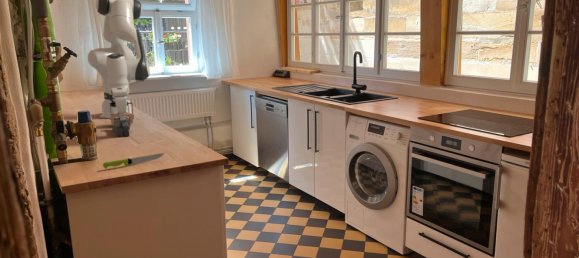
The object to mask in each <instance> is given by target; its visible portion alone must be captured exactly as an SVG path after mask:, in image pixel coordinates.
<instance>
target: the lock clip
mask: <svg viewBox="0 0 579 258" xmlns="http://www.w3.org/2000/svg"><path fill="white" fill-rule="evenodd" d="M110 116H111V118H110V125H111V126H112V125H114V119H116V118H115V117H120V115H119V114H112V115H110ZM127 116H128V117H127ZM133 116H134V115H132V113H124V118H130V124H131V125H132V124H134V119H133Z"/></svg>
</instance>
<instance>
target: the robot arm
mask: <svg viewBox="0 0 579 258" xmlns="http://www.w3.org/2000/svg"><path fill="white" fill-rule="evenodd" d="M95 8H96V10H97V11H96V12H97V13H98V14H99V15H101V16H104V23H103V32H102V36H103V38H104V40H105V41H107V42H108V43H109V44H111V45H110V47H101V48H99V47H98V48H94V49H91V50H90V51H89V52H88V54H87V62H88V64H89V65H90V66H91V67H92V68H93V69H95V70H96V71H97V72H98V73H99V75H100V77H101V79H102V84H103V90H104V91H103V92H104V93H103V98H104V100H103V102H102V103H101V110H102V113H100V115H99V118H102V119H103V118H104V119H105V118H106V119H111V116H110V115H111V114H113V113H119V115H120V117H119V118H120V120H124V118H125V117H124V113H125V112H128V113H132V106H131V104H128V105H129V111H128V106H127V102H128V103H130V102H131V101H130V100H129V99H127V97H128V95H129V94H130V85H129V81H136V82H144V81H146V80H147V79H149V77H150V74H151V71H150V70H151V69H150V66H149V63H148V61H147V55H146V50H145V47H144V46H145V45H144V42H143V37H142V34H141V32H140V30H139V29H136V27H135V25H134V24H135V23H134V22H135V20H138V19H140V18H141V16H142V12H143V8H142V3H141V1H140V0H95ZM127 42H128V43H130V44H132V45H133V46H134V47H135V49H134V50H135V53H136V59H135V55H134V52H133V51H132V50H131V48H129V47H128V45H127V44H126V43H127ZM109 94H110V95H112V97H113V98H114V99H112V98H111V96H110V95H109ZM113 102H115V104H116V107H111V112H110V103H113ZM135 115H136V114H135V112H133V114H132V116H135ZM116 118H118V117H115V118H114V119H116ZM126 118H129V116H127V117H126Z"/></svg>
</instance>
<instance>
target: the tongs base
mask: <svg viewBox="0 0 579 258" xmlns="http://www.w3.org/2000/svg"><path fill="white" fill-rule="evenodd" d="M122 122H127V124H128V127H129V130H131V125H130V124H129V117H124V120H120V119H116V118H114V125H111V128H112V131H113V132H116V133H115V134H116V137H117V138H121V137H124V134H123V131H122Z"/></svg>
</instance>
